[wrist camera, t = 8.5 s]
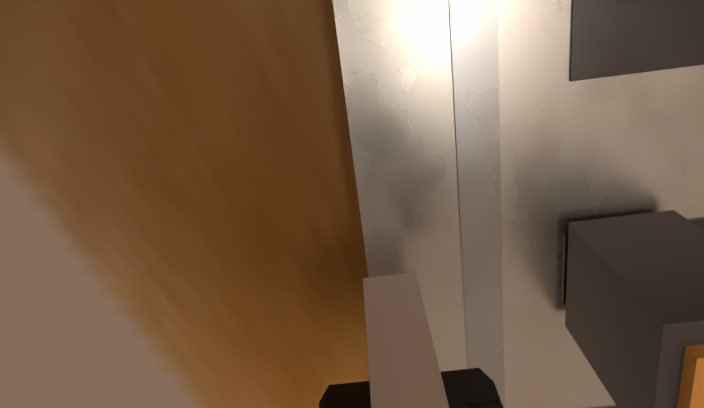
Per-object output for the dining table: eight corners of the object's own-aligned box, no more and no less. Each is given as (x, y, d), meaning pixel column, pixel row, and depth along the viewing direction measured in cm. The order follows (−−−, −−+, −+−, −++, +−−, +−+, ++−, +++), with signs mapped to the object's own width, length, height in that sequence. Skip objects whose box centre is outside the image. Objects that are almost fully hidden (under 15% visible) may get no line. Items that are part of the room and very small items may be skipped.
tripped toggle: (568, 222, 16) (675, 337, 11) (673, 209, 15) (831, 320, 10) (565, 325, 17) (657, 469, 12) (661, 314, 17) (795, 456, 12)
